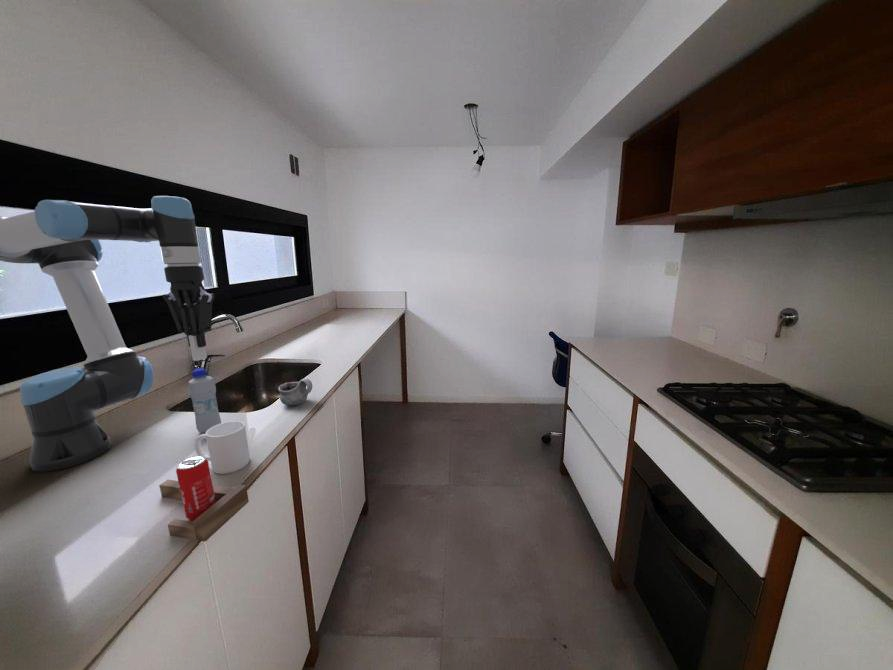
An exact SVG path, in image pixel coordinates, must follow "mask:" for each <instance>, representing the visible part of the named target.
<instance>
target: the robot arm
mask: <svg viewBox="0 0 893 670" xmlns="http://www.w3.org/2000/svg"><path fill="white" fill-rule="evenodd" d="M150 202H151V203H150V204H151V207H150V208H137V207H135V208H134V207H126V206H115V205H105V204H94V203H86V202H85V203H84V202H78V201H77V202H76V201H71V200H70V201H69V200H66V199H64V200H63V199H44V200H43V199H42V200H40V201H39V202H38V203H37V206H36V205H35V208H34V211H30V212H26V213H22V214H17V215H13V216H10V217H9V216H8V217H7V216H0V261H1V262H4V263H9V264H38V265H39V268H40V271H41V272H42V273H44V274H46V275H48V276H51V277H52V278H53V281H54V283H55V286H56V287H57V290H58V292H59V294H60V296H61V299H62V301H63V304H64V306H65V308H66V310H67V313H68V315H69V318H70V319H71V321H72V323H73V326H74V329H75V331H76V333H77V335H78V338H79V340H80V342H81V344H82V347H83V350H84V351H85V354H86V356H87V357H86V359H85V360H84V361H83V363H82V365H83V368H84V369H83V368H82V367H81V366H67V367H63V368H58V369H52V370H49V371H47V372H42V373H40V374H37V375H34V376H32V377H30V378H28V379H26V380H25V381H24V382H22V383H21V385H20V386H19V392H20V403H21V404H22V406H23V408H24V412H25V415H26V418H27V421H28V425H29V429H30V430H31V435H32V438H33V439H32V444H31V448H30V455H29V460H28V462H29V464H30V465H29V466H30V468H31V470H32V471H34V472H43V473H44V472H51V471H59V470H63V469H67V468H70V467H75V466H78V465H80V464H83V463H86V462H88V461H90V460H93V459H95V458H98V457H99V456H101V455H103V454H104V453H106V452H107V451H108V450H109V449H110V448H112V447H111V446H112V443H111V442H112V441H111V439H110V436H109V434H108V433H107V432H106V431H105V430H104V429H103V427H101V425H100V424H99V423H98V422H97V420H96V416H95V411H98V410H101V409H104V408H107V407H111V406H113V405H116V404H119V403H123V402H126V401H128V400H133V399H135V398H137V397H139V396H142V395H145V394H147V393H148V392H149V391H150V390H151V389H152V387H153V384H154V382H155V372H154V369H153V366H152V364H151V361H149V360H148V359H147V358H146V357H144V356H139V355H137V354H136V350H134V349H132V348H128V347H127V345H126V344H125V341H124V339H123V337H122V334H121V331H120V329H119V326H118V325H117V322H116V319H115V317H114V314H113V313H112V310H111V308H110V306H109V303H108V301H107V299H106V296H105V293H104V291H103V289H102V286H101V285H100V282H99V279H98V278H97V275H96V272H95V270H97V268H98V267H99V262H100V261H101V260H102V257H103V251H102V250H103V246H102V243H101V242H100V241H125V242H127V241H128V242H130V241H131V242H137V243H150V242H158V244H159V249H160V252H161V259H162V263H163V265H166V266H165V267H163V268H164V269H163V271H164V275H165V276H164V277H165V280H166V282H167V283H170V288H169V290H170V291H169V292H168V293H166V294H163V295H162V299H163V300H164V302H165V303H166V304H167V305H168V308H169V310H170V313H171V316H172V318H173V321H174V324H175V326H176V329H177V331H178V333H183V334H185V335H186V339H187V345H188V347H189V348H190V352H191V357H192V361H194V362H199V361H202V360H205V359H207V358H208V355H207V350H206V346H207V341H206V336H205V335H206V333H208V332H211V331H212V323H213V322H212V321H213V320H212V319H213V318H212V317H213V302H214V300H215V298H216V296H215V293H209V292H207V290H206V289H205V287H204V285H203V281H204V280H205V276H204V275H205V274H204V270H203V267H202V266H201V265H200V264H201V263H202V258H201V252H200V247H199V241H198V240H199V239H198V234H197V233H198V232H197V227H196V221H195V219H196V218H195V214H194V211H193V207H192V203H191V201H190V200H188V199H187V198H185V197H180V196H169V195H156V196H155V195H154V196H153V197H152V198H151V201H150Z"/></svg>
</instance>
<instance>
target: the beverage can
mask: <svg viewBox="0 0 893 670" xmlns="http://www.w3.org/2000/svg"><path fill="white" fill-rule="evenodd" d="M175 473H176V477H177V481H178V482H179V487H180V491H181V496H182V500H181V501H182V504H183V509H184V512H185V513H184V514H185V517H186V518H187V519H188V521H194V520H195V519H196V518H198V517H199V516H200V515H201V514H203V513H204V512H205V511H206V510H207V509H209V508H210V507H211V506H212V505H214V504H215V503H216V500H215V495H214V490H213V485H214V484H213V481H212V475H211V471H210V465H209V461H207V460H206V458H205V457H204V456H198V455H194V456H191V457H187V458H185V459H182V460H181V461H180V462H179V463H177V465H176V469H175Z"/></svg>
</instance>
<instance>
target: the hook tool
mask: <svg viewBox="0 0 893 670" xmlns="http://www.w3.org/2000/svg"><path fill="white" fill-rule="evenodd" d="M212 485H213V490H214V495H215V500H216V503H215V504H214V505H212V506H211V507H210V508H209V509H207V510H206V511H205V512H204V513H203V514H201V515H200V516H199V517H198V518H196V519H195V520H194V521H190V520H187V519H179V518H174V519H173V520H171V521H170V522H169V523H167V525H166V526H167V527H168V528H167V529H168V532H169V537H171V536H172V537H175V538H183V539H189V540H195V541H202V542H207V540H209V539H210V538H211V537H212V536H213V535H214V534H216V533H217V532H218V531H219V530H220V529H221V528H222V527H223V526H225V524H227V522H229V521H230V520H231V519H232V518H233V517H234V516H235V515H236V514H237V513H239V512H240V511H241V510H242V509H243V508H244V507H245V506H246V505H247V504H248V503H249V494H248V489H247V485H246V484H237V485H235V487H231V486H230V487H229V486H223V485H222V486H221V485H214V484H212ZM158 486H159V491H160V494H161V498H167V499H173V500H174V499H175V500H178V501H179V500H180V501H183V500H182V496H181V491H180V487H179V482H178V480H172V479H166V480H165V481H163V482H162V483H160V484H159V485H158Z"/></svg>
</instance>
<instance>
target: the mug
mask: <svg viewBox="0 0 893 670" xmlns="http://www.w3.org/2000/svg"><path fill="white" fill-rule="evenodd" d="M277 389H278V391H279V400H280V402H281V404H282V405H284V406H288V407H295V406H299V405H301V404H303V403H304V402H305V401H306V400H307V399H308V396H309V394H310V393H311V392H312V389H313V382H312V381H311V379H309V378H306V377H305V378H302V379H300V380H299V381H291V382H290V381H289V382H285V383H282V384H280V385H279V386H278V388H277Z"/></svg>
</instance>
